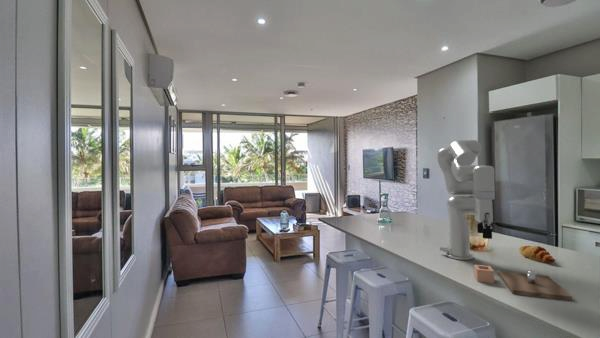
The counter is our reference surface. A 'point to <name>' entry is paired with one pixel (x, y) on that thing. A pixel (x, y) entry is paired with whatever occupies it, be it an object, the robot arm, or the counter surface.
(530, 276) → the steel pin
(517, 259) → the counter surface
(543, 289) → the walnut board
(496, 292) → the counter surface
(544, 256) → the croissant
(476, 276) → the collar block
